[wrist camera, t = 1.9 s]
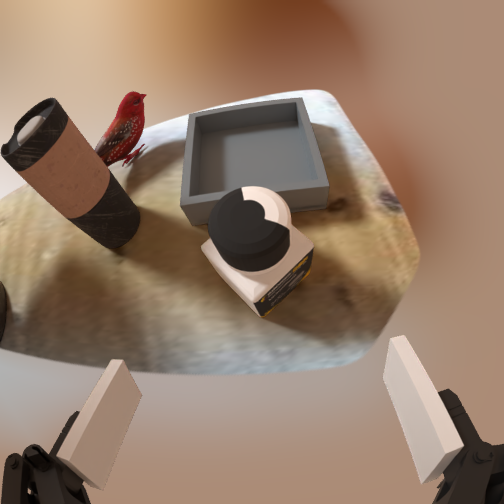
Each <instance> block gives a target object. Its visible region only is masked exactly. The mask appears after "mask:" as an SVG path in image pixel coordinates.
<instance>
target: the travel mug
mask: <svg viewBox="0 0 504 504" xmlns="http://www.w3.org/2000/svg"><path fill="white" fill-rule="evenodd" d="M1 155H2V157H3V158H4V159H5V160H6V161H7V163H9V165H10V166H11V167H12V168H13V169H14V170H15V171H16V172H17V173H18V174H19V175H20V176H21V177H22V178H23V179H24V180H25V181H26V182H27V183H28V184H29V185H31V186H32V187H33V188H34V189H35V190H36V191H37V192H38V193H39V194H40V195H41V196H42V197H43V198H44V199H45V200H46V201H47V202H49V203H50V204H51V205H52V206H53V207H54V208H55V209H56V210H57V211H59V212H60V213H61V214H62V215H63V216H64V217H66V218H67V219H68V220H69V221H71V222H72V223H73V224H74V225H76V226H77V227H78V228H80V229H81V230H82V231H84V232H85V233H86V234H88V235H89V236H90V237H92V238H93V239H94V240H96V241H97V242H98V243H100V244H101V245H103V246H104V247H107V248H117V247H120V246H122V245H124V244H125V243H127V242H128V241H129V240H130V239H131V238H132V237H133V235H134V234H135V232H136V231H137V229H138V226H139V222H140V214H139V211H138V209H137V207H136V205H135V204H134V203H133V201H132V200H131V199H130V197H129V196H128V195H127V193H126V192H125V191H124V189H123V188H122V187H121V185H120V184H119V182H118V181H117V180H116V178H115V177H114V176H113V174H112V173H111V171H110V170H109V169H108V167H107V166H106V165H105V164H104V162H103V161H102V160H101V158H100V157H99V156H98V155H97V153H96V152H95V151H94V149H93V148H92V147H91V146H90V144H89V143H88V142H87V140H86V139H85V138H84V136H83V135H82V134H81V133H80V131H79V130H78V128H77V127H76V126H75V124H74V123H73V122H72V121H71V119H70V118H69V116H68V115H67V114H66V112H65V111H64V110H63V108H62V107H61V105H60V104H59V102H58V101H57V100H56V99H55V98H48V99H46V100H43V101H42V102H40V103H38V104H37V105H35V106H34V107H33V108H31V109H30V110H29V111H28V112H27V113H26V114H25V115H24V116H23V117H22V118H21V119H20V120H19V121H18V122H17V124H16V125H15V127H14V133H13V135H12V137H11V139H10V140H9V142H8V143H6V144H3V145H2V148H1Z"/></svg>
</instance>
